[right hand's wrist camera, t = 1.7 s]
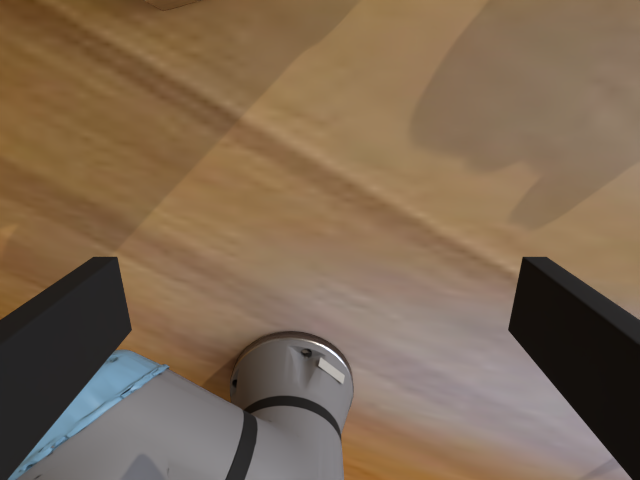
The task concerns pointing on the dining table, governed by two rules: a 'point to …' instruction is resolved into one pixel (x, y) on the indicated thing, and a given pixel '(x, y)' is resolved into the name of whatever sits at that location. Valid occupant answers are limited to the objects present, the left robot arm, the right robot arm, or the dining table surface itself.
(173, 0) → the box
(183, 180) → the dining table surface
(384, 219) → the dining table surface
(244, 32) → the dining table surface
